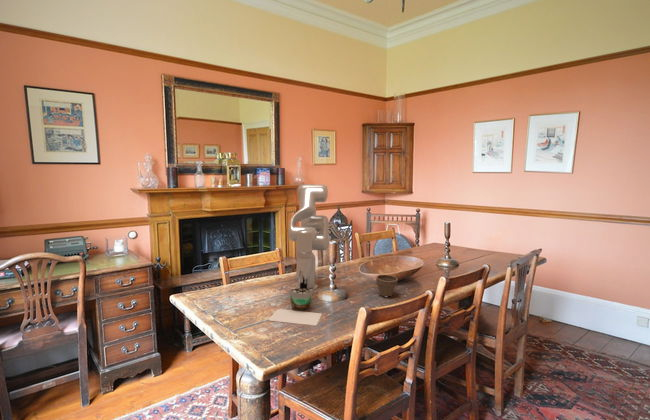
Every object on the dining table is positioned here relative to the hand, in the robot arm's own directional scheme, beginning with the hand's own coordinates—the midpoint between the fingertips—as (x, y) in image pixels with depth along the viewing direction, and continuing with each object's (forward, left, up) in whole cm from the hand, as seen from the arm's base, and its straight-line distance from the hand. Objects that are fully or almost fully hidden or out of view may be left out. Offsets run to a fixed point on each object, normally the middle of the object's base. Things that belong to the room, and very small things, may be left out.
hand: (303, 291), depth 177 cm
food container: (+3, 0, -8) cm, 8 cm away
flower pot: (-26, +40, -8) cm, 49 cm away
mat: (+13, 0, -8) cm, 15 cm away
